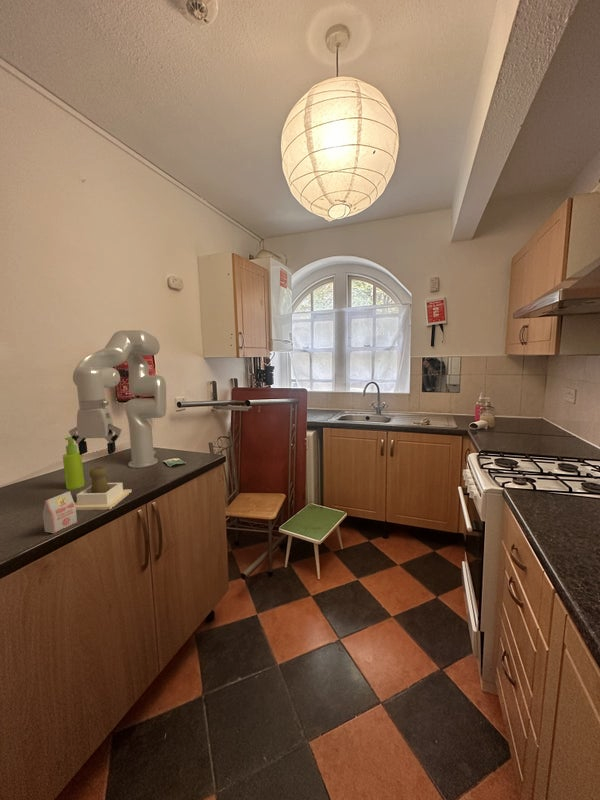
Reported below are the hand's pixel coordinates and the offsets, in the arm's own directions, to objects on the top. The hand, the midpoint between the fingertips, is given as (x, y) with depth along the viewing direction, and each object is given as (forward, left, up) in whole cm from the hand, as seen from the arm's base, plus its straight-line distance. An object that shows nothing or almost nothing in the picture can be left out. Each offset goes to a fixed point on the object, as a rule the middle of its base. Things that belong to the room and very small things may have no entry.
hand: (97, 453), depth 109 cm
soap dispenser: (-14, -18, -17) cm, 28 cm away
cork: (0, 0, -16) cm, 16 cm away
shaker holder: (0, 0, -17) cm, 17 cm away
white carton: (+19, -1, -17) cm, 25 cm away
